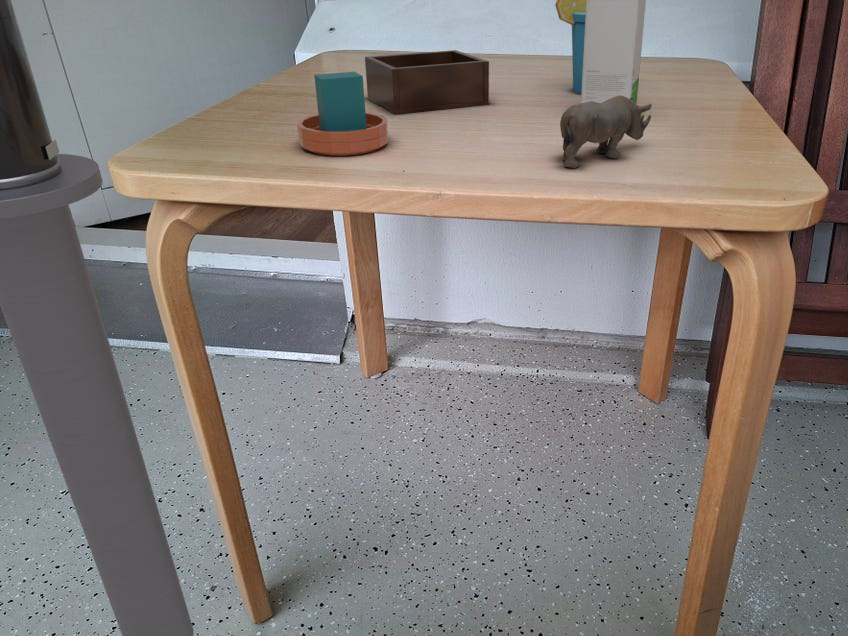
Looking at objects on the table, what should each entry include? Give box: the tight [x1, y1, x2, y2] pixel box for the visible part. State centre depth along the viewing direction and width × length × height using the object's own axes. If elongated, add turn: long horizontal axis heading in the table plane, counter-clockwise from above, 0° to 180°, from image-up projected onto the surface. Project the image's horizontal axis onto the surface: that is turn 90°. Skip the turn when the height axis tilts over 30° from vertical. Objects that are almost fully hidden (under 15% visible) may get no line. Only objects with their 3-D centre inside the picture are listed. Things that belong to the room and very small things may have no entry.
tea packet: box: [313, 71, 367, 131], centre depth 80 cm, size 4×3×7 cm, turn 116°
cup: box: [555, 0, 586, 95], centre depth 105 cm, size 14×8×15 cm, turn 119°
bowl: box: [296, 111, 389, 157], centre depth 82 cm, size 10×10×3 cm
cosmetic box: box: [580, 0, 647, 105], centre depth 92 cm, size 8×7×16 cm
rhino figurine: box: [559, 95, 653, 169], centre depth 78 cm, size 4×14×6 cm, turn 129°
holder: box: [364, 49, 490, 115], centre depth 101 cm, size 14×11×6 cm
